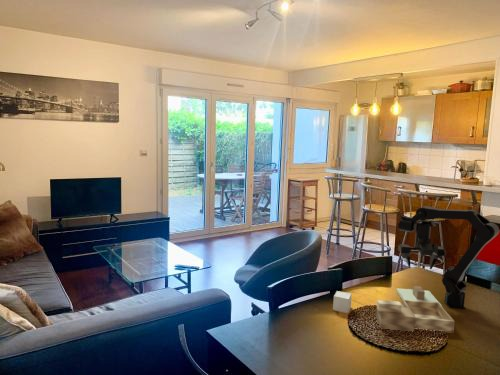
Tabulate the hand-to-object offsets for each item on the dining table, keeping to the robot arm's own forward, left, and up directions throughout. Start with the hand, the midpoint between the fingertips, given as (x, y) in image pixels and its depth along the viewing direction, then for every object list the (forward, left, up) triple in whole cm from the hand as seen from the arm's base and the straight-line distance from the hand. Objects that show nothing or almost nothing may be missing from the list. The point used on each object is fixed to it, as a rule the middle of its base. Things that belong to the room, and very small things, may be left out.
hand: (419, 268), depth 169 cm
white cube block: (+36, +22, -12) cm, 44 cm away
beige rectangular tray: (+11, +28, -12) cm, 32 cm away
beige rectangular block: (+21, +33, -6) cm, 39 cm away
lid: (+2, +7, -12) cm, 14 cm away
